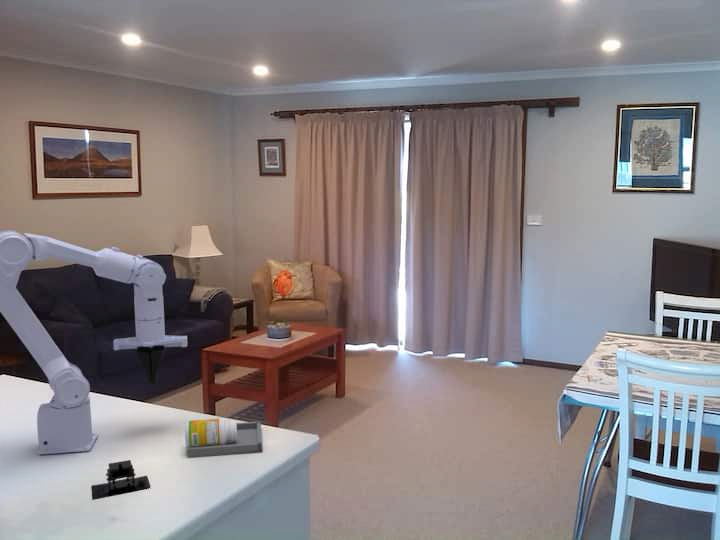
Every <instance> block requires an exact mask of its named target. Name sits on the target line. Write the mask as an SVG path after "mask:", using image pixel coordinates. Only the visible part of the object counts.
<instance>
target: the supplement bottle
mask: <svg viewBox="0 0 720 540" xmlns="http://www.w3.org/2000/svg"><path fill="white" fill-rule="evenodd" d="M236 423H237V421H236V420H230V421H228V422H226V420H225V419H224V418H220V417H219V418H208V419H197V420H188V421H186V422H185V425H184V427H185V428H184V430H185V431H184V432H185V433H184V434H185V435H184V438H185V448H186V450H187V449H188V448H192V447H206V446H220V445H225V444H226V442H227V441H230V442H236V441H237V426H236Z"/></svg>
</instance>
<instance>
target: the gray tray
mask: <svg viewBox="0 0 720 540" xmlns="http://www.w3.org/2000/svg"><path fill="white" fill-rule="evenodd" d="M236 426H237V441H236V442H230V441H227V442H226V444H225V445H220V446H206V447H192V448H188V449H187V448H186V451H187V458H197V457H198V458H200V457H211V456H212V457H213V456H226V454H228V455H238V454H251V453H252V454H253V453H262V452H263V443H262V442H263V441H262V422H261V421H245V422H236Z"/></svg>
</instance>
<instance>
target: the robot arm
mask: <svg viewBox="0 0 720 540" xmlns="http://www.w3.org/2000/svg"><path fill="white" fill-rule="evenodd" d="M24 235H25V236H26V237H27V238H26V237H25V236H24ZM49 258H50V259H51V258H52V259H56V260H61V261H66V262H68V263H73V264H78V265H81V266H86V267H90V268H92V269H93V271H94V273H95V275H96V276H98V277H101V278H104V279H105V278H106V279H108V280H113V281H116V282H120V283H125V284H133V291H134V292H133V293H134V297H133V300H134V303H133V304H134V322H135V323H134V324H135V336H133V337H125V338H124V337H123V338H115V339H114V340H113V341H112V342H113V350H114V351H119V350H130V349H133V350H134V349H135V350H136V356H137V358H138V359H139V360H140V362H141V365H143V368H144V370H145V373H146V375H147V379H148V383H151V384H155V383H156V382H157V380H158V372H159V368H160V364H161V360H162V357H163V356H164V352H165V350H166V348H172V347H173V348H174V347H175V348H176V347H181V348H186V347H188V335H166V331H165V328H166V327H165V310H164V309H165V308H164V305H165V303H164V294H163V285H164V284H165V282H166V279H167V274H166V273H165V271H164V269H163V266H161V265H160V264H159V263H158V262H156V261H153V260H151V259H149V258H146V257H143V255H141V254H136V255H133V254H128V253H125V252H122V251H120V248H118V247H115V246H112V247H111V248H108V247H104V248H102V249H100V250H98V251H95V250H90V249H88V248H84V247H81V246H77V245H76V244H71V243H69V242H65V241H61V240H58V239H56V238H52V237H48V236H45V235H41V234H39V235H38V234H33V233H26V232H25V233H24V232H23V234H21V232H18V231H15V230H11V229H9V230H1V231H0V313H1V315H2V316H3V317H4V319H5V320H6V321H7V323H8V324H9V326H10V327H11V329H12V330H13V331H14V332H15V334H16V335H17V337H18V338H19V339H20V341H21V342H22V344H23V345H24V346H25V348H26V349H27V350H28V352H29V353H30V354H31V356H32V358H33V359H34V360H35V362H36V363H37V364H38V366H39V367H40V369H41V370H42V372H43V374H44V375H45V377H46V378H47V379H48V385H49V387H50V389H51V390H52V391H53V395H52V397H51V399H50V401H49V403H48V402H47V403H41V404H40V405H39V407H38V410H37V415H36V425H37V426H36V428H37V437H38V438H37V441H38V451H37V454H38V455H49V454H50V455H51V454H64V453H66V454H67V453H80V452H90V451H91V449H92V447H93V446H94V444H95V443H96V441H97V439H98V438H99V433H93V426H92V424H93V423H92V411H91V408H92V407H91V398H90V395H89V394H90V391H91V386H90V383H89V380H88V379H86V377H85V376H84V375H83V373H82V370H81V368H79V367H78V366H77V365H75V364H73V363H71V362H69V360H68V359H67V358H66V356H65V355H64V354H63V352H62V351H61V349H60V348H59V347H58V345H56V342H54V340H53V338H52V337H51V335H50V334H49V333H48V331H47V330H46V328H45V327H44V326H43V324H42V323H41V321H40V320H39V318H38V317H37V316H36V314H35V312H33V310H32V308H31V307H30V305H28V303H27V302H26V300H25V299H24V297H23V295H22V294H21V293H20V292H19V290H18V288H17V284H18V282H19V279H20V275H21V273H22V272H23V270H24V269H25V267H26V266H27V265H28V264H29V263H30V261H31V259H32V260H34V261H35V262H38V261H42V260H43V261H44V260H46V259H49Z"/></svg>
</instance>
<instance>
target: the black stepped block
mask: <svg viewBox="0 0 720 540" xmlns="http://www.w3.org/2000/svg"><path fill="white" fill-rule="evenodd" d="M131 461H132V460H131V459H128V460H122V461H116V462H111V463H108V468H107V469H106V472H107V473H106V474H105V476H106V481H107V482H105V483H99V484H94V485H91V487H90V488H91V501H95V500H99V499H105V498H111V497H115V496H119V495H125V494H130V493H134V492H135V493H136V492H139V491H140V490H141V491H145V489H146V490H150V489H152V486H151V484H150V481H149V477H148V475H143V476H138V477H135V476H136V473H135V468H134V466H133V464H132V462H131ZM150 487H151V488H150ZM149 488H150V489H149Z"/></svg>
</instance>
